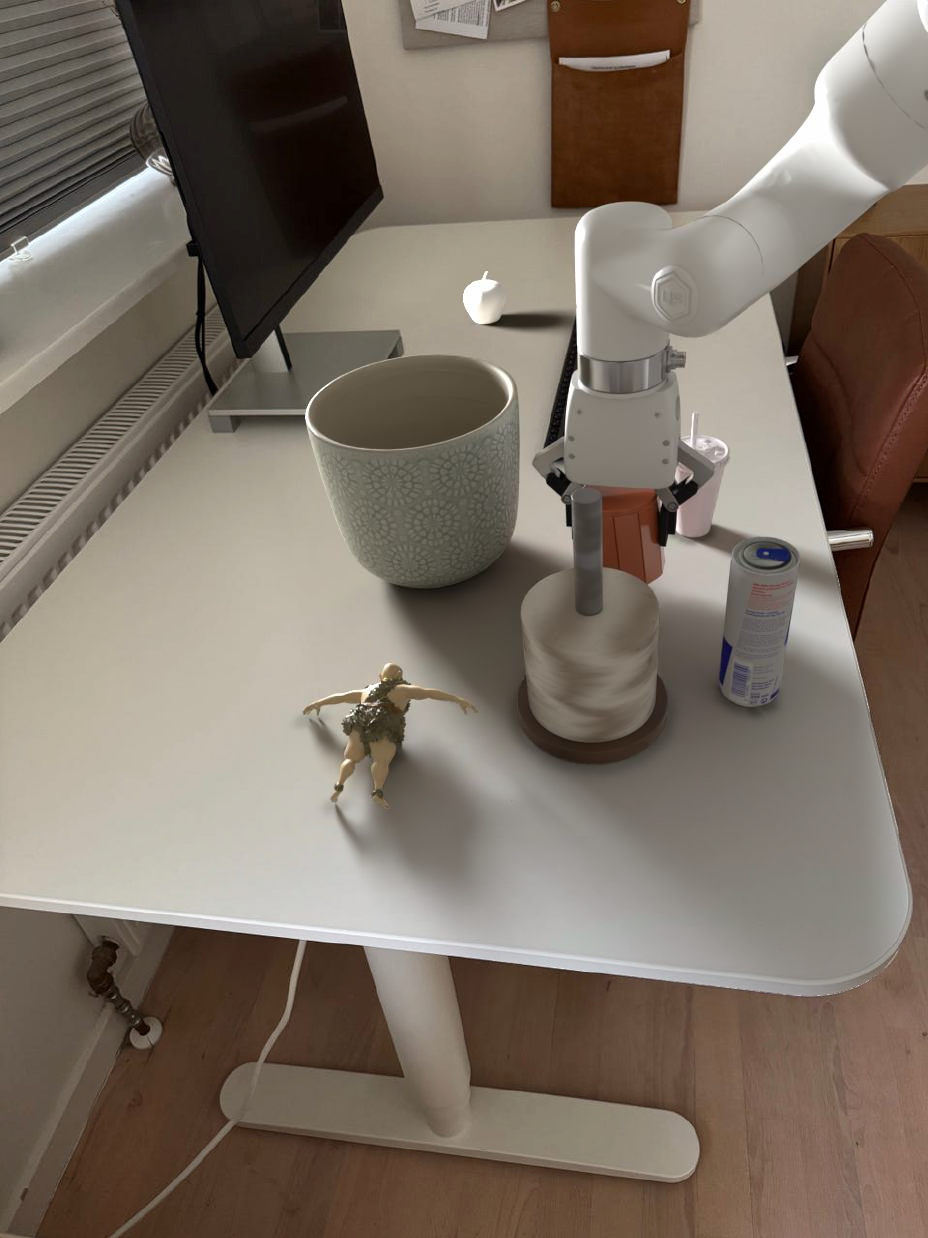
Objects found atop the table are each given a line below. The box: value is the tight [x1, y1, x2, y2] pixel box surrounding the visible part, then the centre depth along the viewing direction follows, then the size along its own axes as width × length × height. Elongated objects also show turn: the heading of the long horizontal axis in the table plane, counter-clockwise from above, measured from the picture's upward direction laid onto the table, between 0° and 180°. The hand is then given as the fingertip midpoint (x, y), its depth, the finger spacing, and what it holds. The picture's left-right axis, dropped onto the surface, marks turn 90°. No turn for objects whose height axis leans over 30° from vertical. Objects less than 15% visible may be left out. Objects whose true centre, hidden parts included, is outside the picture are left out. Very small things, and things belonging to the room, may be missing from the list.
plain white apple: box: [463, 270, 507, 325], centre depth 147 cm, size 7×7×8 cm
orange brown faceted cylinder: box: [583, 485, 666, 586], centre depth 86 cm, size 7×8×9 cm
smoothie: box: [675, 410, 731, 538], centre depth 93 cm, size 6×6×14 cm
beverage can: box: [718, 536, 801, 708], centre depth 73 cm, size 5×5×15 cm
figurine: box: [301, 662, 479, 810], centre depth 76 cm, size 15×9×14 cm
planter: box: [305, 353, 521, 589], centre depth 93 cm, size 21×21×19 cm
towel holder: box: [516, 487, 669, 765], centre depth 72 cm, size 13×13×22 cm
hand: (620, 534), depth 86 cm, fingers closed on orange brown faceted cylinder, 7 cm apart
